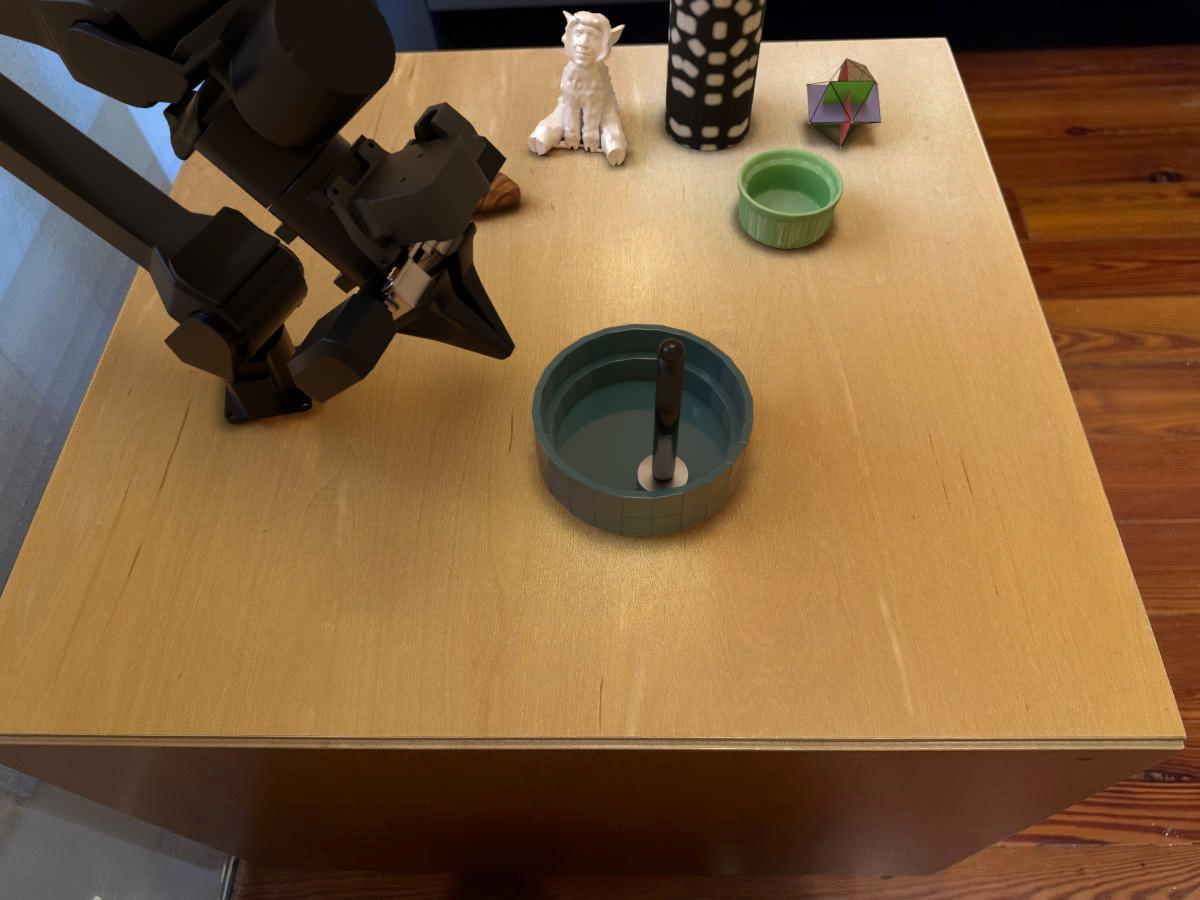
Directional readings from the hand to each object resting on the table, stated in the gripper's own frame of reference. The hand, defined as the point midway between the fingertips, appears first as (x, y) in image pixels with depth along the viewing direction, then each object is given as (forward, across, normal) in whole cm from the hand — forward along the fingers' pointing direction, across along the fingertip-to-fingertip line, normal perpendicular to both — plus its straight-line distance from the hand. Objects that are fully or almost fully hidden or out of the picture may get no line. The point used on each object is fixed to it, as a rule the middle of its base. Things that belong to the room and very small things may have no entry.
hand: (509, 353), depth 57 cm
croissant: (-3, +25, +22) cm, 33 cm away
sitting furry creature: (+3, +38, +16) cm, 41 cm away
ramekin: (+18, +32, +1) cm, 37 cm away
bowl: (+14, +4, +4) cm, 15 cm away
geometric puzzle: (+19, +46, -1) cm, 50 cm away
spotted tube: (+10, +44, +8) cm, 45 cm away
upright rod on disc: (+15, +1, +1) cm, 15 cm away
